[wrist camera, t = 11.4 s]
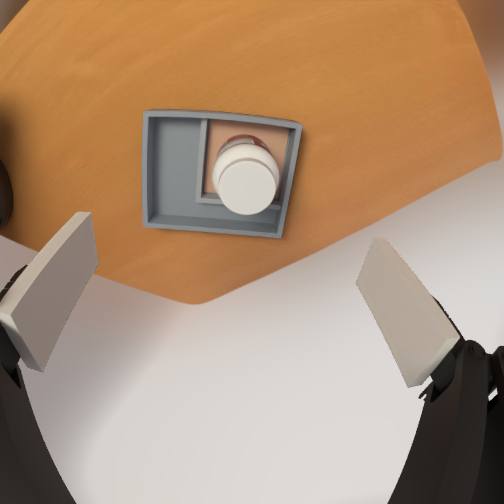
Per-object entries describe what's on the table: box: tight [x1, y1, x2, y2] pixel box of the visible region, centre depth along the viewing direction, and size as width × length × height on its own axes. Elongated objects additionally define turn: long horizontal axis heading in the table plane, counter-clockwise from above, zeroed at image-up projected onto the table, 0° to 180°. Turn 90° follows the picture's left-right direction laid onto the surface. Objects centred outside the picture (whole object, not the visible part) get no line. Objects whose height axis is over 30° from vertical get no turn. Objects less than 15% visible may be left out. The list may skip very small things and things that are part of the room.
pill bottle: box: [212, 134, 279, 215], centre depth 27 cm, size 6×6×11 cm
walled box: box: [142, 109, 303, 238], centre depth 32 cm, size 17×14×4 cm
